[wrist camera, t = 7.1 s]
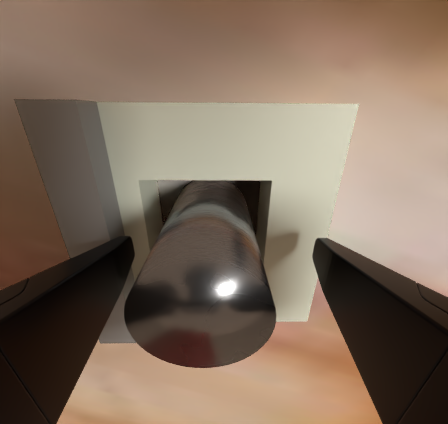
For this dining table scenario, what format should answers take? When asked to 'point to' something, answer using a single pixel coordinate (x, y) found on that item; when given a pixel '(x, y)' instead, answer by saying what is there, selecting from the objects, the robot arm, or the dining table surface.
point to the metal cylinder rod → (203, 283)
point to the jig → (192, 177)
